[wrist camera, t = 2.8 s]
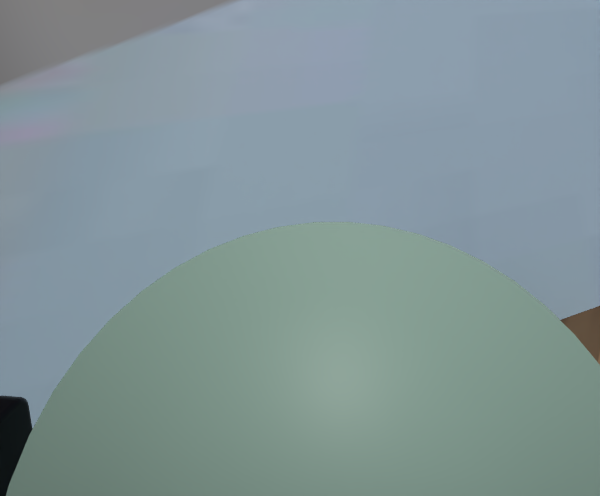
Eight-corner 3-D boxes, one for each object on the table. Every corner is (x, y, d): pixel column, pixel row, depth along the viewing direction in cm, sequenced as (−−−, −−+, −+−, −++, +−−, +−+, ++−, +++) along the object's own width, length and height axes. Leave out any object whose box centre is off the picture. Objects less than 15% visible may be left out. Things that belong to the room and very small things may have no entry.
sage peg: (367, 491, 14) (851, 773, 3) (234, 555, 13) (70, 1435, 2) (314, 358, 16) (478, 159, 4) (190, 407, 15) (-63, 334, 3)
